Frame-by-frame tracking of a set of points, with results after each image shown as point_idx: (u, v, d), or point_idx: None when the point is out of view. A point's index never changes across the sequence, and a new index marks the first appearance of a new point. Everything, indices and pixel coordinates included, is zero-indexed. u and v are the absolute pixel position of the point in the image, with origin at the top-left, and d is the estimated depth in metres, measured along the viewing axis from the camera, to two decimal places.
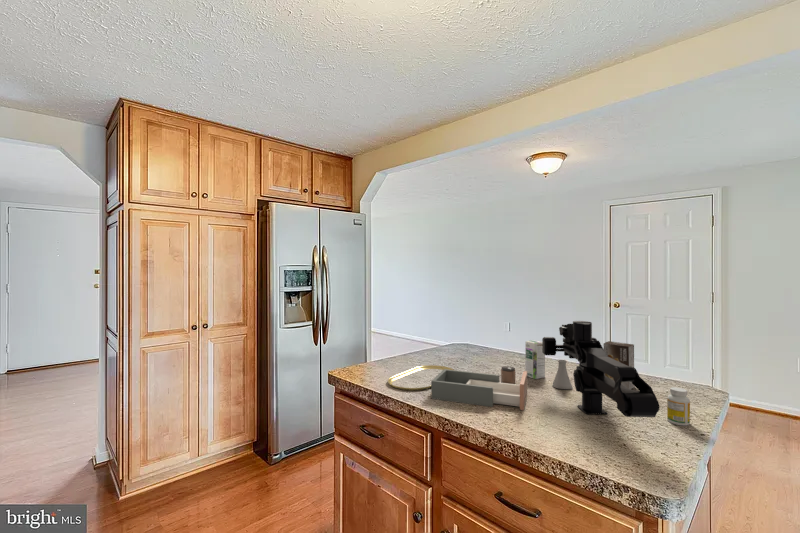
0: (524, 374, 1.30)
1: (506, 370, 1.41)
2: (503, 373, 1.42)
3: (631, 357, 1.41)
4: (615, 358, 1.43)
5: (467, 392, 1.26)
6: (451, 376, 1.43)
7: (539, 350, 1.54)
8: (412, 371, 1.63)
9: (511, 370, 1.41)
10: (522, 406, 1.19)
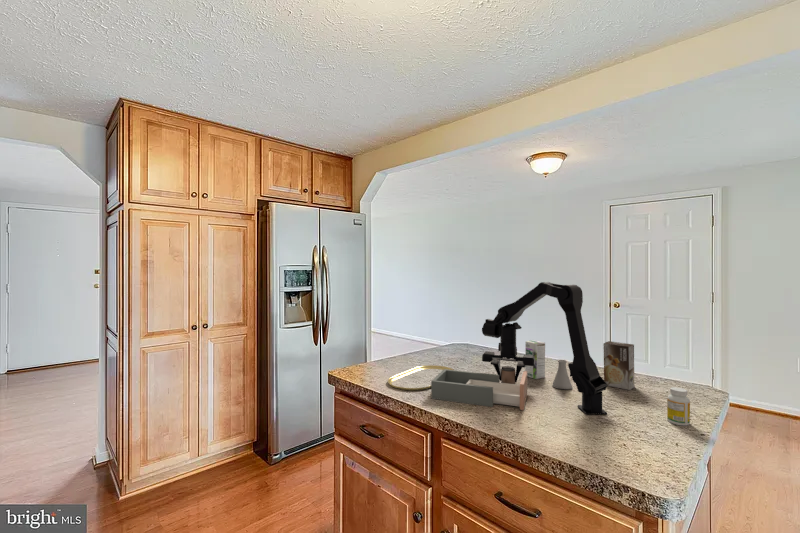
0: (524, 374, 1.30)
1: (506, 370, 1.41)
2: (503, 373, 1.42)
3: (631, 357, 1.41)
4: (615, 358, 1.43)
5: (467, 392, 1.26)
6: (451, 376, 1.43)
7: (539, 350, 1.54)
8: (412, 371, 1.63)
9: (511, 370, 1.41)
10: (522, 406, 1.19)
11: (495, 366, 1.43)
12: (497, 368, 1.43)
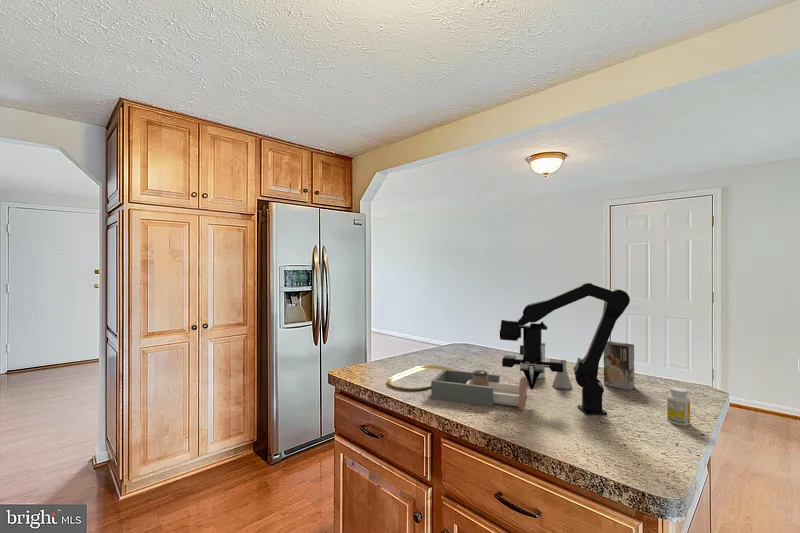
0: (524, 374, 1.30)
1: (478, 375, 1.30)
2: (475, 378, 1.31)
3: (631, 357, 1.41)
4: (615, 358, 1.43)
5: (467, 392, 1.26)
6: (451, 376, 1.43)
7: None
8: (412, 371, 1.63)
9: (483, 375, 1.30)
10: (521, 406, 1.19)
11: (525, 373, 1.24)
12: (528, 375, 1.24)
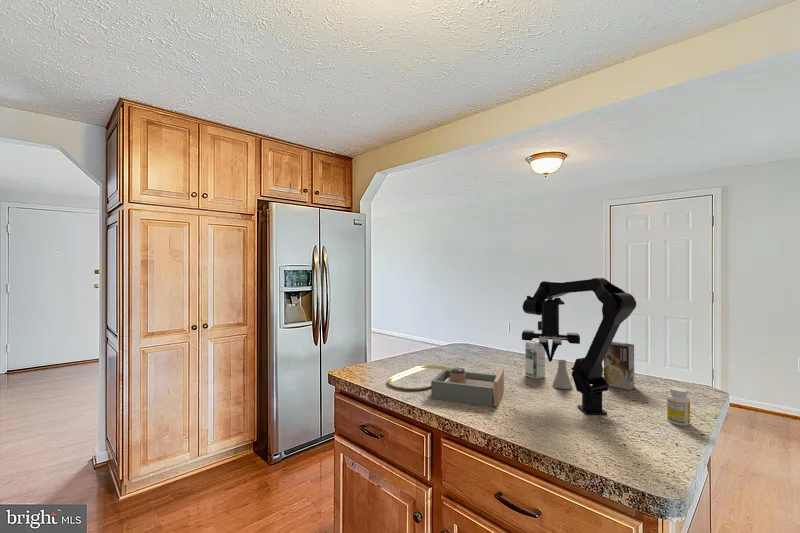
0: (500, 372, 1.33)
1: (456, 372, 1.33)
2: (453, 376, 1.34)
3: (631, 357, 1.41)
4: (615, 358, 1.43)
5: (467, 392, 1.26)
6: None
7: (539, 350, 1.54)
8: (412, 371, 1.63)
9: (461, 372, 1.33)
10: (496, 403, 1.22)
11: (544, 345, 1.32)
12: (546, 347, 1.32)
